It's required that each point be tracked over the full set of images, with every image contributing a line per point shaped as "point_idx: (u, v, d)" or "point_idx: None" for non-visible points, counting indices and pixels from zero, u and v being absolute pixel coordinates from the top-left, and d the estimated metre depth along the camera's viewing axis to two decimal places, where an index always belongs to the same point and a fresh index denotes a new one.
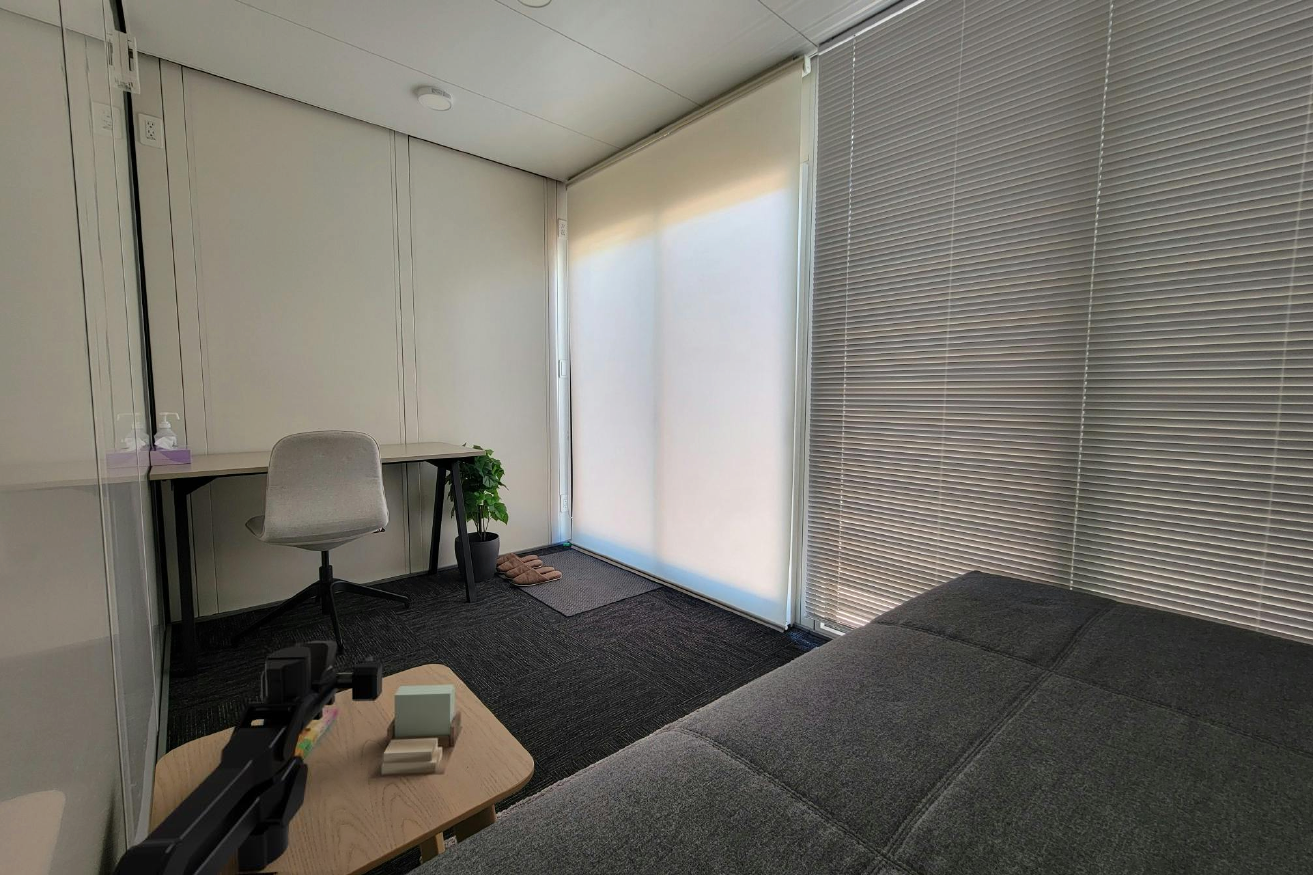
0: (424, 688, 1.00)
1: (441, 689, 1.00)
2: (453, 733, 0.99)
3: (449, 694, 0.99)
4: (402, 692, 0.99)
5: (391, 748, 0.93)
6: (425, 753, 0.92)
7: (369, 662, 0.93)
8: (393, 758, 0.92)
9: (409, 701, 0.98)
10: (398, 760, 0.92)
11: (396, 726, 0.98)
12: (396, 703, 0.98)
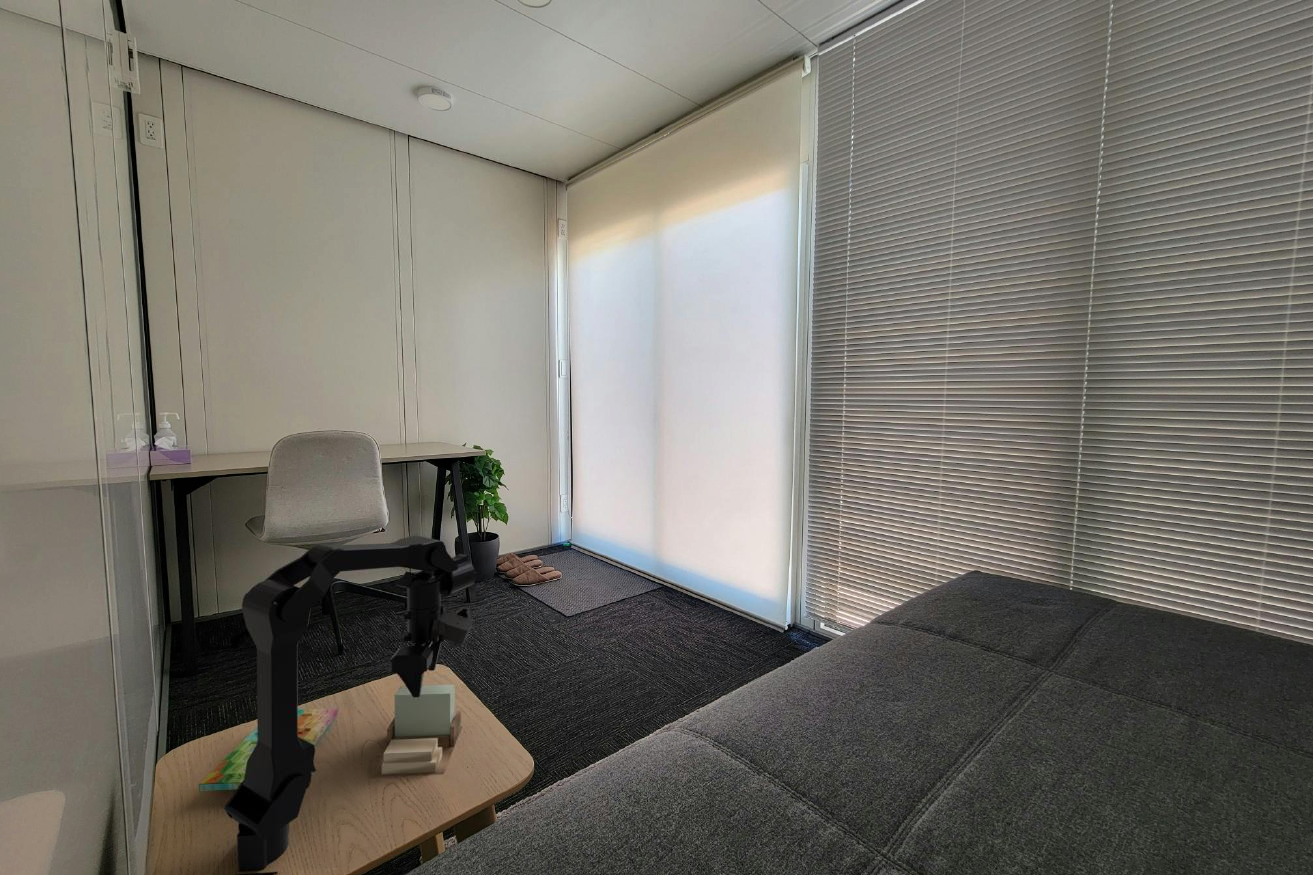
0: (424, 688, 1.00)
1: (441, 689, 1.00)
2: (453, 733, 0.99)
3: (449, 694, 0.99)
4: (402, 692, 0.99)
5: (391, 748, 0.93)
6: (425, 753, 0.92)
7: (429, 664, 0.92)
8: (393, 758, 0.92)
9: (409, 701, 0.98)
10: (398, 760, 0.92)
11: (396, 726, 0.98)
12: (396, 703, 0.98)
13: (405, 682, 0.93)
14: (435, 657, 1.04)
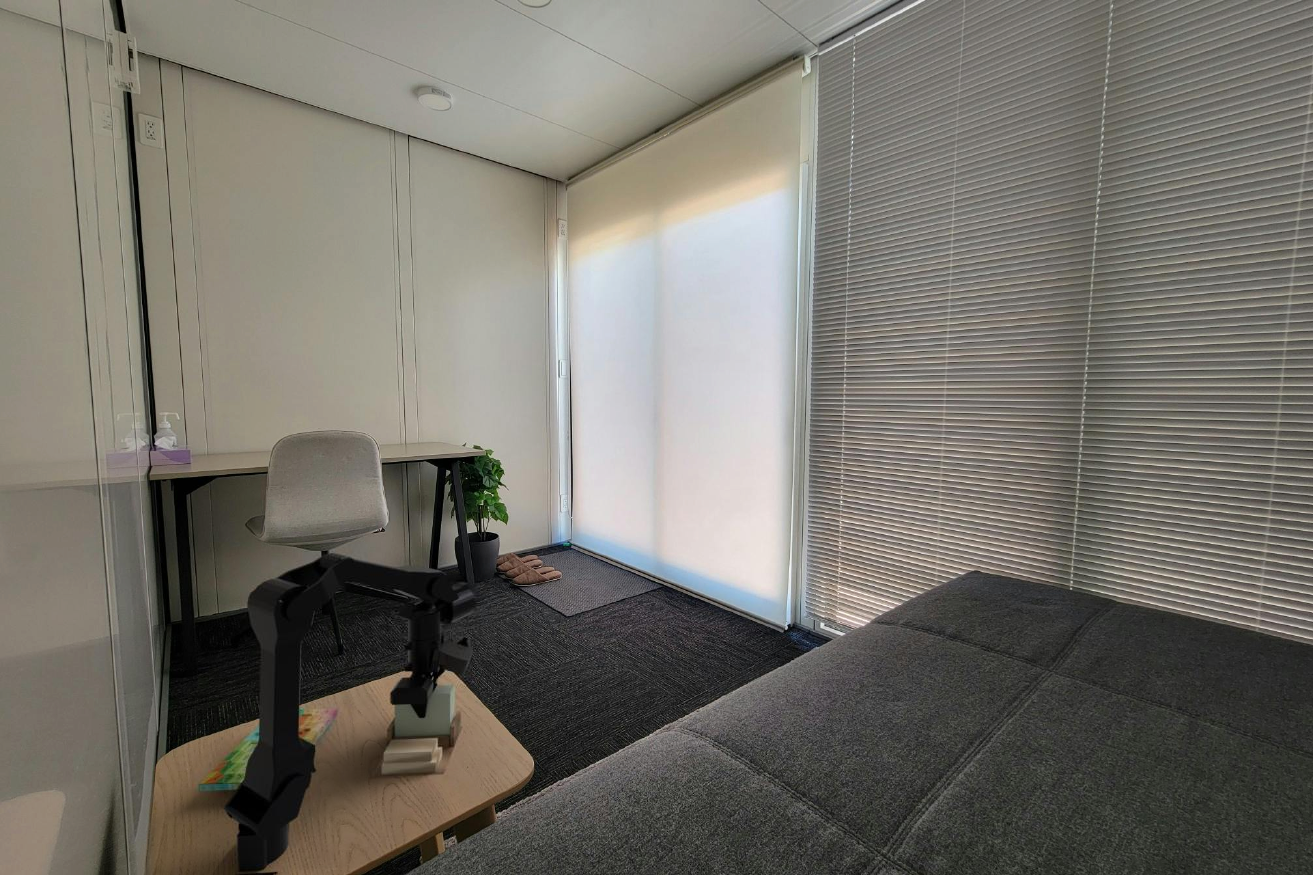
0: None
1: (441, 689, 1.00)
2: (453, 733, 0.99)
3: (449, 694, 0.99)
4: None
5: (391, 748, 0.93)
6: (425, 753, 0.92)
7: (429, 696, 0.93)
8: (393, 758, 0.92)
9: None
10: (398, 760, 0.92)
11: (396, 726, 0.98)
12: None
13: (411, 703, 0.97)
14: None
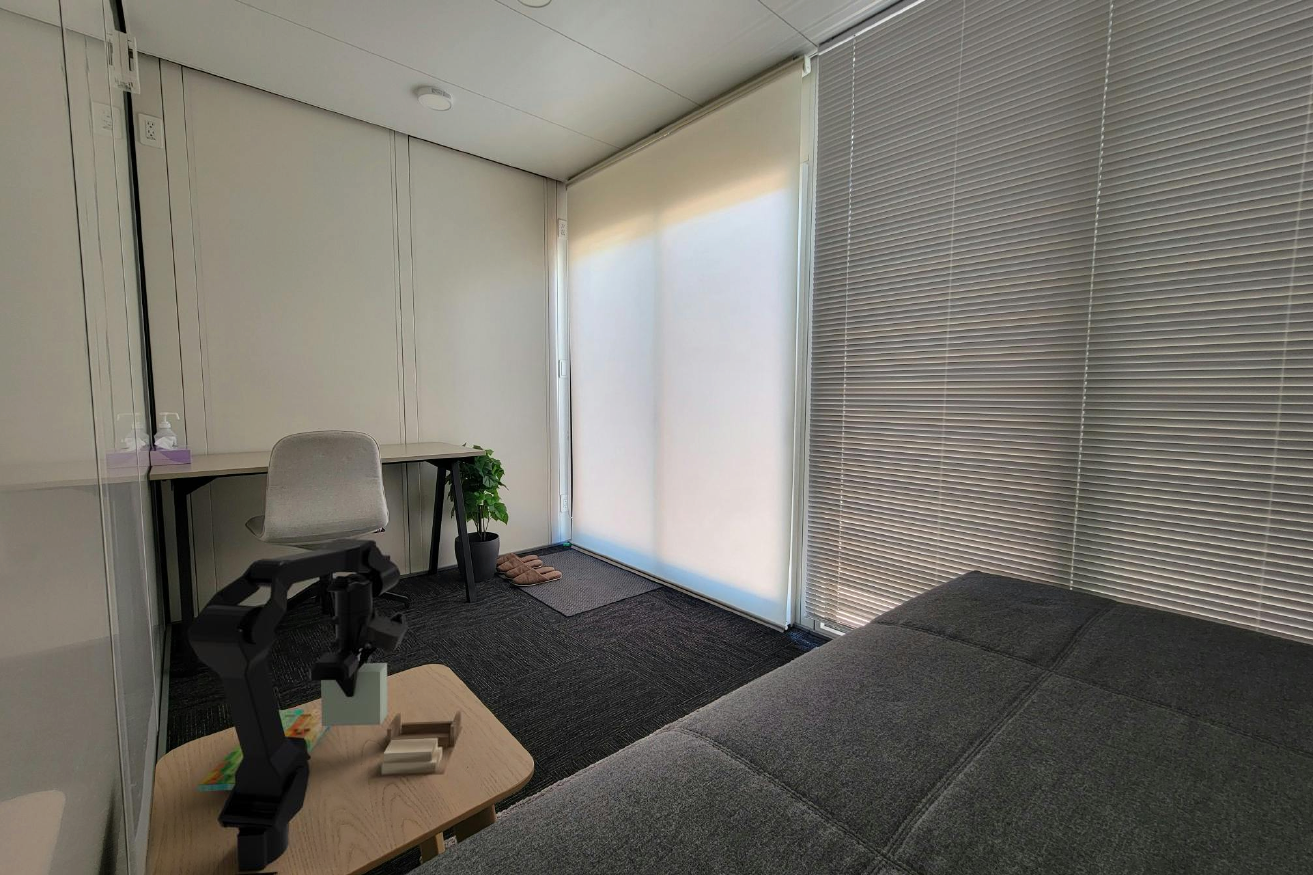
0: None
1: (371, 667, 0.95)
2: (453, 733, 0.99)
3: (379, 672, 0.94)
4: None
5: (391, 748, 0.93)
6: (425, 753, 0.92)
7: (352, 672, 0.88)
8: (393, 758, 0.92)
9: None
10: (398, 760, 0.92)
11: (323, 705, 0.94)
12: (323, 681, 0.93)
13: (338, 681, 0.92)
14: None
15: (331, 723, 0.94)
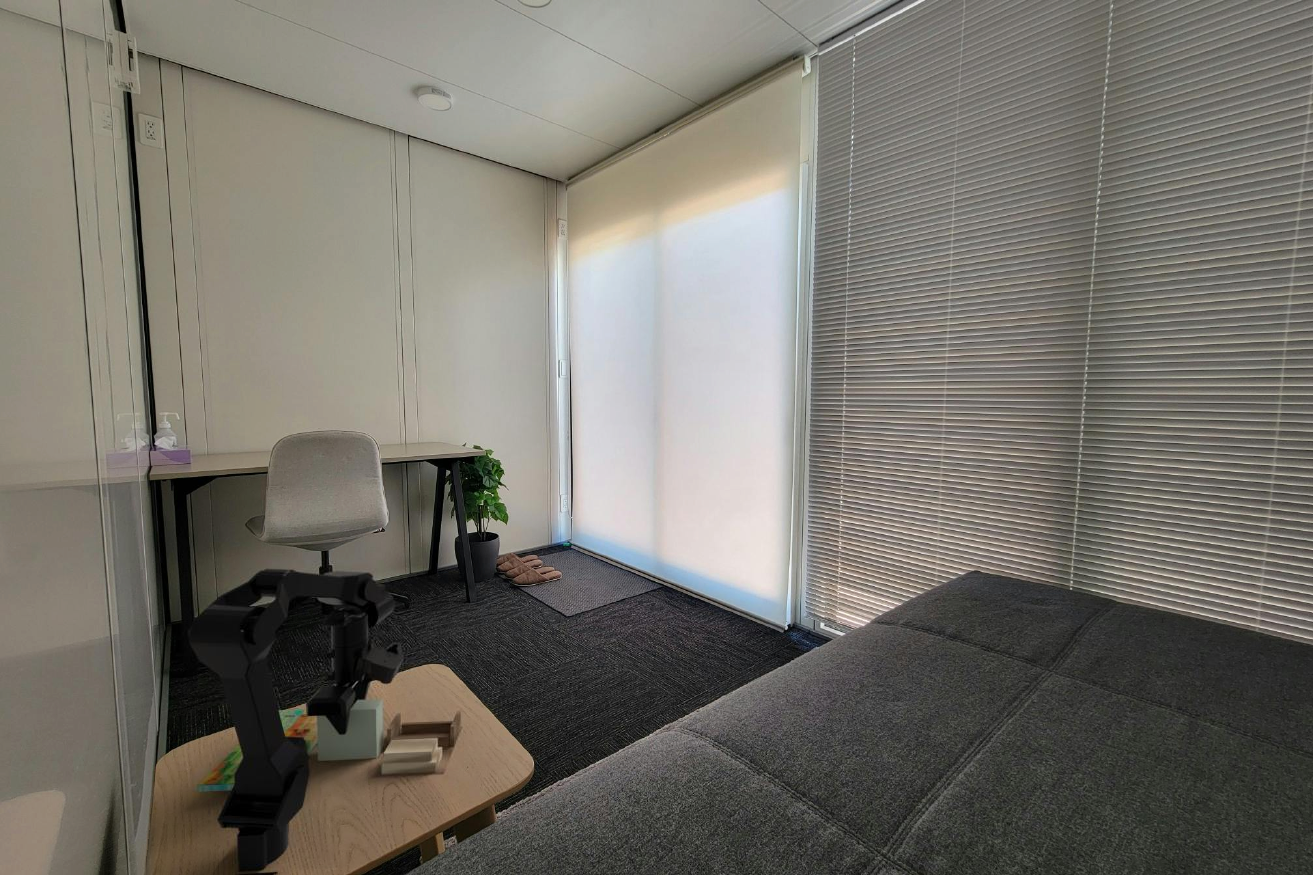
0: None
1: (367, 704, 0.96)
2: (453, 733, 0.99)
3: (375, 710, 0.94)
4: None
5: (391, 748, 0.93)
6: (425, 753, 0.92)
7: (349, 706, 0.88)
8: (393, 758, 0.92)
9: None
10: (398, 760, 0.92)
11: (319, 743, 0.94)
12: (318, 719, 0.93)
13: (330, 719, 0.91)
14: (362, 698, 0.99)
15: None
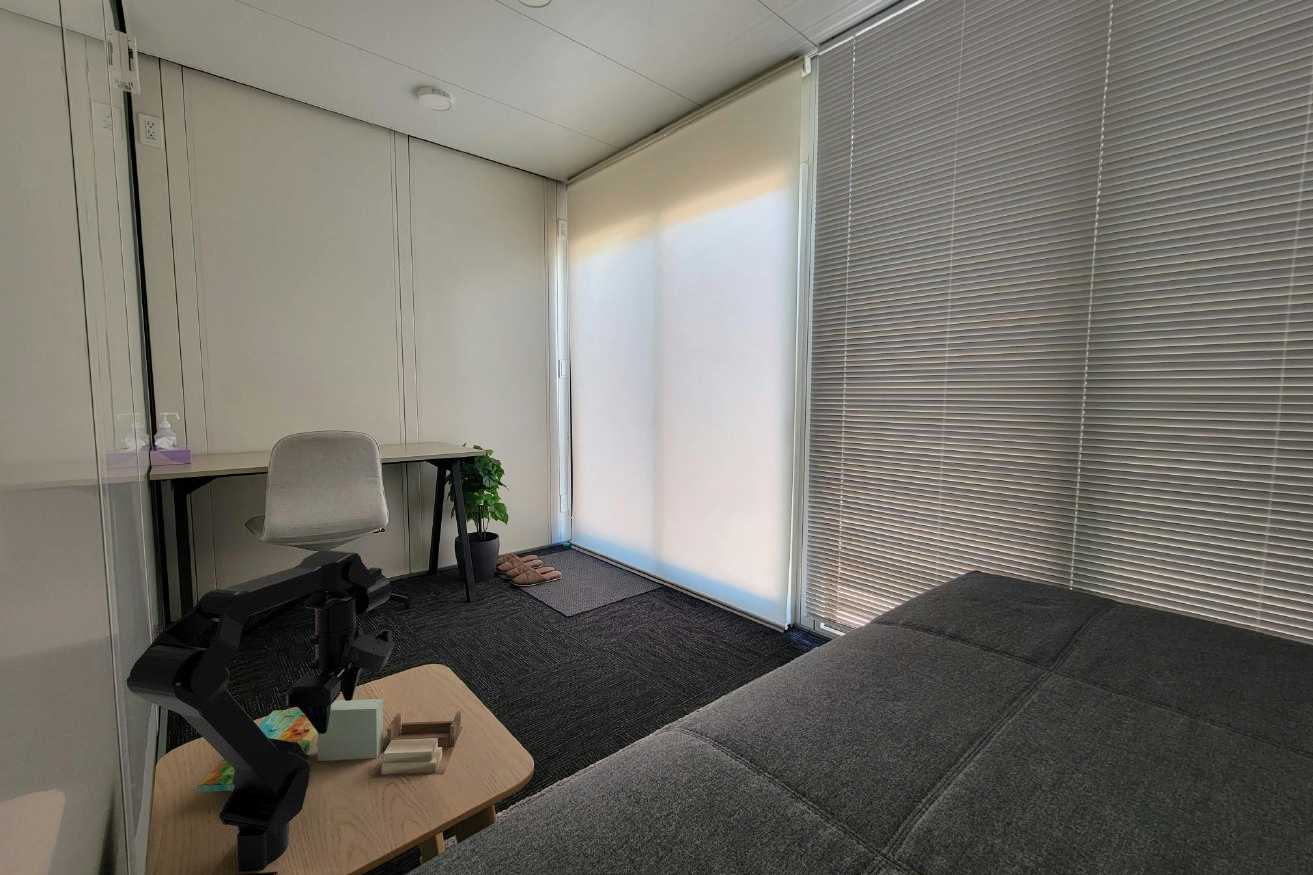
0: (350, 703, 0.96)
1: (367, 703, 0.96)
2: (453, 733, 0.99)
3: (375, 709, 0.94)
4: None
5: (391, 748, 0.93)
6: (425, 753, 0.92)
7: (334, 696, 0.81)
8: (393, 758, 0.92)
9: (332, 716, 0.94)
10: (398, 760, 0.92)
11: (319, 743, 0.94)
12: None
13: (308, 716, 0.82)
14: (352, 685, 0.93)
15: None
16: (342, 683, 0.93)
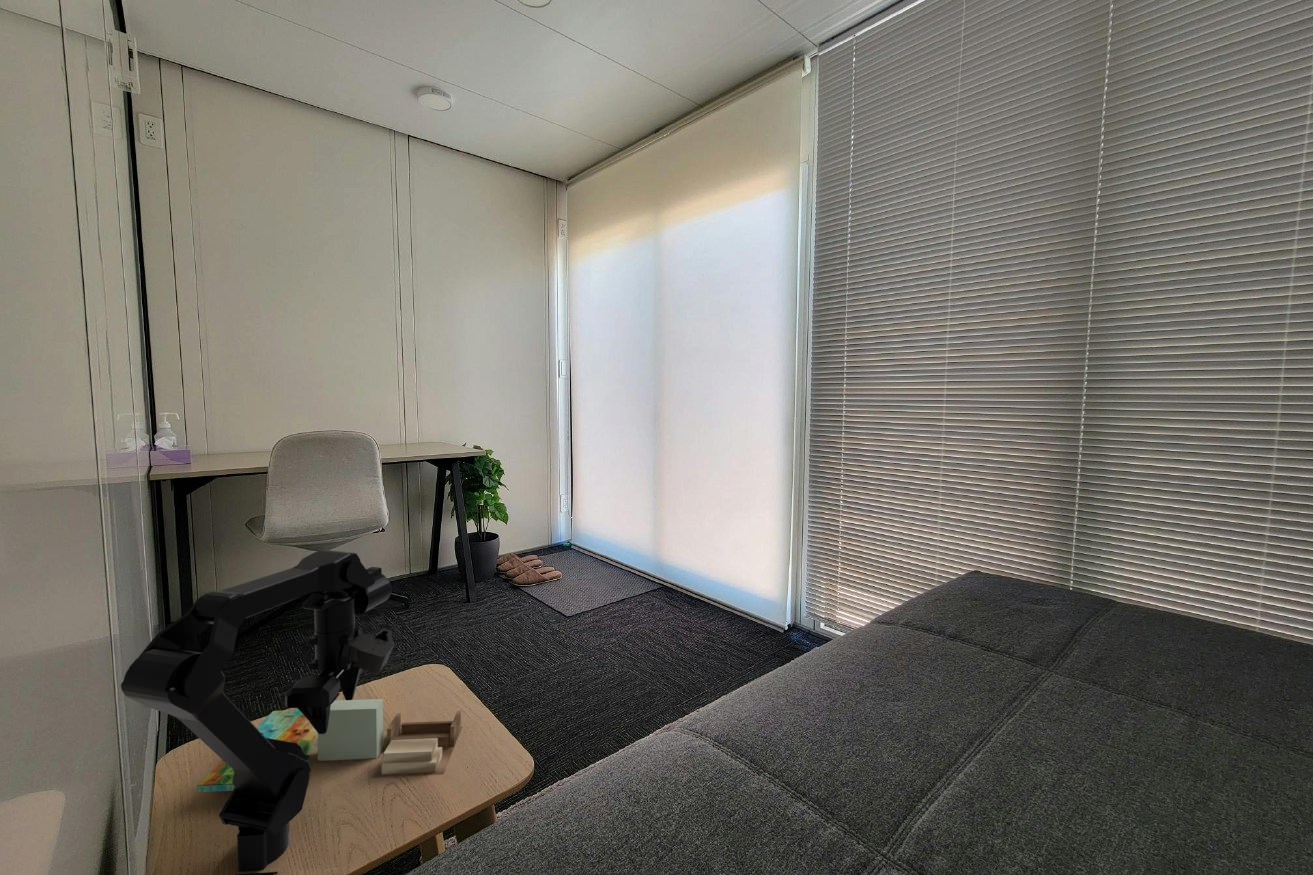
0: (350, 703, 0.96)
1: (367, 703, 0.96)
2: (453, 733, 0.99)
3: (375, 709, 0.94)
4: None
5: (391, 748, 0.93)
6: (425, 753, 0.92)
7: (333, 697, 0.80)
8: (393, 758, 0.92)
9: (332, 716, 0.94)
10: (398, 760, 0.92)
11: (319, 743, 0.94)
12: None
13: (308, 717, 0.82)
14: (353, 685, 0.92)
15: None
16: (342, 682, 0.92)
